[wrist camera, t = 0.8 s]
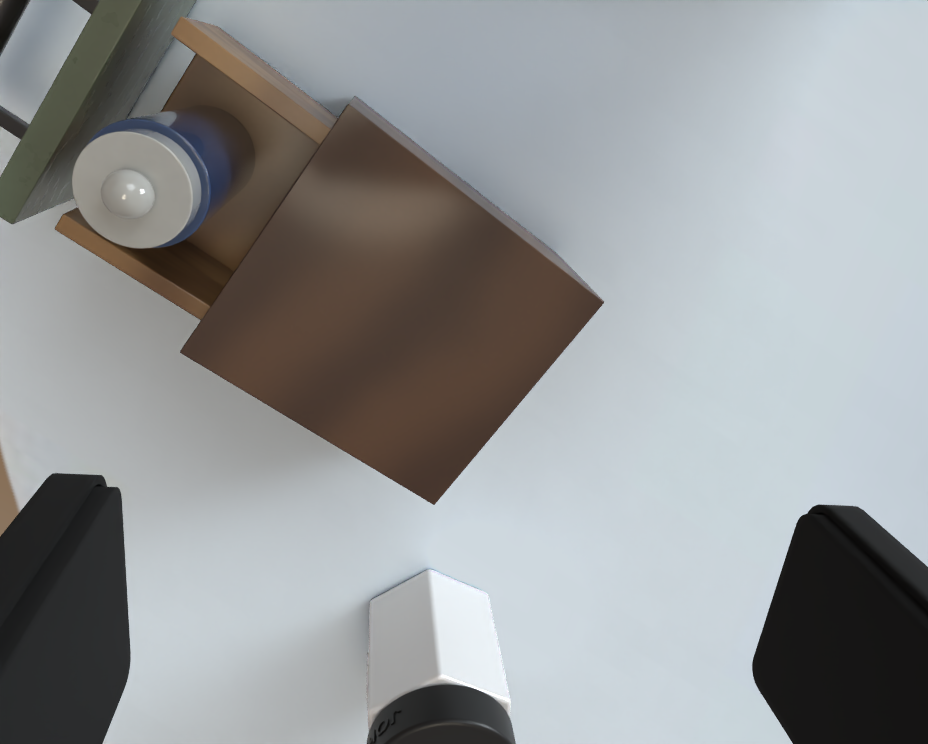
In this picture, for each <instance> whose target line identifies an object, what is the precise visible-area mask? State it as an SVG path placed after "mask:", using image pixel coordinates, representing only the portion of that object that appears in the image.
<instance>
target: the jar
mask: <svg viewBox="0 0 928 744" xmlns="http://www.w3.org/2000/svg"><path fill="white" fill-rule="evenodd" d="M367 654H368V659H367V678H366V683H367V710H368V727H369V734H368V738H367V744H516V743H515V738H514V733H513V728H512V723H511V720H510V709H511V700H510V695H509V690H508V686H507V681H506V676H505V671H504V667H503V662H502V657H501V652H500V647H499V643H498V638H497V633H496V628H495V624H494V619H493V614H492V609H491V605H490V600H489V595H488V594H487V593H486V592H484V591H481V590H479V589H476V588H474V587H472V586H469V585H467V584H464V583H462V582H460V581H457V580H455V579H452V578H450V577H448V576H445V575H443V574H441V573H438V572H436V571H433V570H431V569H428V570H426V571H424V572H422V573H420V574H419V575H417V576H415V577H413V578H411V579H409V580H407V581H406V582H404V583H402V584H400V585H398V586H396V587H394V588H393V589H391V590H389V591H387V592H385V593H383V594H381V595H379V596H378V597H376V598H374V599H372V600H371V601H370V604H369V652H368V653H367Z"/></svg>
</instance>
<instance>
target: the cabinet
mask: <svg viewBox="0 0 928 744" xmlns="http://www.w3.org/2000/svg"><path fill="white" fill-rule="evenodd" d="M603 303H604V301H603V300H602V299H601V298H600V297H599V296H598V295H597V294H596V293H595V292H594V291H593V290H592V289H591V288H590V287H589V286H588V285H587V284H586V283H585V282H584V281H583V280H582V279H581V278H580V277H579V276H578V275H577V273H576V272H575V271H574V270H573V269H572V268H571V267H570V266H569V265H568V264H567V263H566V262H565V261H564V260H563V259H562V258H561V257H560V256H559V255H558V254H557V253H555V252H554V251H553V250H552V249H550V248H549V247H548V246H547V245H545V244H544V243H543V242H541V241H540V240H539V239H538V238H536V237H535V236H534V235H532V234H531V233H530V232H529V231H527V230H526V229H525V228H524V227H522V226H521V225H520V224H518V223H517V222H516V221H515V220H513V219H512V218H511V217H509V216H508V215H507V214H506V213H504V212H503V211H502V210H501V209H499V208H498V207H497V206H495V205H494V204H493V203H492V202H490V201H489V200H488V199H486V198H485V197H484V196H483V195H481V194H480V193H479V192H478V191H476V190H475V189H474V188H472V187H471V186H470V185H469V184H467V183H466V182H465V181H463V180H462V179H461V178H460V177H458V176H457V175H456V174H455V173H453V172H452V171H451V170H449V169H448V168H447V167H446V166H444V165H443V164H442V163H441V162H439V161H438V160H437V159H435V158H434V157H433V156H432V155H430V154H429V153H428V152H426V151H425V150H424V149H423V148H421V147H420V146H419V145H418V144H416V143H415V142H414V141H412V140H411V139H410V138H409V137H407V136H406V135H405V134H403V133H402V132H401V131H400V130H398V129H397V128H396V127H395V126H393V125H392V124H391V123H389V122H388V121H387V120H386V119H384V118H383V117H382V116H380V115H379V114H378V113H377V112H375V111H374V110H373V109H372V108H370V107H369V106H368V105H366V104H365V103H364V102H363V101H361V100H360V99H359V98H357V97H356V96H354V98H353V99H352V100H351V101H350V102H349V104H348V105H347V106H346V108H345V109H344V111H343V112H342V114H341V115H340V117H339V118H338V120H337V121H336V123H335V124H334V125H333V127H332V128H331V130H330V131H329V133H328V134H327V136H326V137H325V139H324V140H323V142H322V143H321V145H320V146H319V148H318V149H317V150H316V152H315V153H314V155H313V156H312V158H311V159H310V161H309V162H308V164H307V165H306V167H305V168H304V170H303V171H302V173H301V174H300V176H299V177H298V178H297V180H296V181H295V183H294V184H293V186H292V187H291V189H290V190H289V192H288V193H287V195H286V196H285V198H284V199H283V201H282V202H281V204H280V205H279V206H278V208H277V209H276V211H275V212H274V214H273V215H272V217H271V218H270V220H269V221H268V223H267V224H266V226H265V227H264V229H263V230H262V232H261V233H260V234H259V236H258V237H257V239H256V240H255V242H254V243H253V245H252V246H251V248H250V249H249V251H248V252H247V254H246V255H245V257H244V258H243V260H242V261H241V262H240V264H239V265H238V267H237V268H236V270H235V271H234V273H233V274H232V276H231V277H230V279H229V280H228V282H227V283H226V285H225V286H224V287H223V289H222V290H221V292H220V293H219V295H218V296H217V298H216V299H215V301H214V302H213V304H212V305H211V307H210V308H209V310H208V311H207V313H206V314H205V315H204V317H203V318H202V320H201V321H200V323H199V324H198V326H197V327H196V329H195V330H194V332H193V333H192V335H191V336H190V338H189V339H188V341H187V342H186V343H185V345H184V346H183V348H182V349H181V351H180V353H182V354H183V355H185V356H187V357H188V358H190V359H192V360H193V361H195V362H197V363H198V364H200V365H202V366H203V367H205V368H207V369H208V370H210V371H212V372H213V373H215V374H217V375H218V376H220V377H222V378H223V379H225V380H227V381H228V382H230V383H232V384H233V385H235V386H237V387H238V388H240V389H242V390H243V391H245V392H247V393H248V394H250V395H252V396H253V397H255V398H257V399H258V400H260V401H262V402H263V403H265V404H267V405H268V406H270V407H272V408H273V409H275V410H277V411H278V412H280V413H282V414H283V415H285V416H287V417H288V418H290V419H292V420H293V421H295V422H297V423H298V424H300V425H302V426H303V427H305V428H307V429H308V430H310V431H312V432H313V433H315V434H317V435H318V436H320V437H322V438H323V439H325V440H327V441H328V442H330V443H332V444H333V445H335V446H337V447H338V448H340V449H342V450H343V451H345V452H347V453H348V454H350V455H352V456H353V457H355V458H357V459H358V460H360V461H362V462H363V463H365V464H367V465H368V466H370V467H372V468H373V469H375V470H377V471H378V472H380V473H382V474H383V475H385V476H387V477H388V478H390V479H392V480H393V481H395V482H397V483H398V484H400V485H402V486H403V487H405V488H407V489H408V490H410V491H412V492H413V493H415V494H417V495H418V496H420V497H422V498H423V499H425V500H427V501H428V502H430V503H432V504H433V505H435V503H436V502H437V501H438V500H439V499H440V497H441V496H442V495H443V494H444V493H445V491H446V490H447V489H448V488H449V487H450V486H451V484H452V483H453V482H454V481H455V480H456V478H457V477H458V476H459V475H460V474H461V472H462V471H463V470H464V469H465V468H466V466H467V465H468V464H469V463H470V462H471V460H472V459H473V458H474V457H475V456H476V455H477V453H478V452H479V451H480V450H481V449H482V447H483V446H484V445H485V444H486V443H487V441H488V440H489V439H490V438H491V437H492V435H493V434H494V433H495V432H496V431H497V430H498V428H499V427H500V426H501V425H502V424H503V422H504V421H505V420H506V419H507V418H508V416H509V415H510V414H511V413H512V412H513V410H514V409H515V408H516V407H517V406H518V405H519V403H520V402H521V401H522V400H523V399H524V397H525V396H526V395H527V394H528V393H529V391H530V390H531V389H532V388H533V387H534V385H535V384H536V383H537V382H538V381H539V380H540V378H541V377H542V376H543V375H544V374H545V372H546V371H547V370H548V369H549V368H550V366H551V365H552V364H553V363H554V362H555V360H556V359H557V358H558V357H559V356H560V354H561V353H562V352H563V351H564V350H565V349H566V347H567V346H568V345H569V344H570V343H571V341H572V340H573V339H574V338H575V337H576V335H577V334H578V333H579V332H580V331H581V329H582V328H583V327H584V326H585V325H586V324H587V322H588V321H589V320H590V319H591V318H592V316H593V315H594V314H595V313H596V312H597V310H598V309H599V308H600V307H601V306H602V304H603Z"/></svg>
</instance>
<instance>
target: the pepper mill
mask: <svg viewBox="0 0 928 744" xmlns="http://www.w3.org/2000/svg"><path fill="white" fill-rule="evenodd" d="M254 168H255V149H254V145H253V142H252V139H251V137H250V135H249V133H248V131H247V130H246V128H245V127H244V126H243V124H242V123H241V122H240V121H239V120H238V119H236V118H235V117H234V116H233V115H231V114H230V113H228V112H226V111H224V110H222V109H220V108H217V107H213V106H208V105H196V106H191V107H186V108H181V109H176V110H171V111H166V112H161V113H156V114H151V115H146V116H141V117H136V118H131V119H126V120H121V121H117V122H114V123H112V124H109V125H107V126H106V127H104V128H102V129H101V130H100V131H98V132H97V133H96V134H95V135H94V136H93V137H92V138H91V139H90V140H89V142H88V143H87V145H86V146H85V148H84V149H83V150H82V152H81V153H80V155H79V156H78V158H77V160H76V162H75V166H74V169H73V174H72V189H73V194H74V198H75V201H76V204H77V206H78V209H79V210H80V212H81V214H82V216H83V217H84V218H85V220H86V221H87V222H88V224H89V225H90V226H91V227H92V228H93V229H94V230H95V231H97V232H98V233H99V234H100V235H102V236H103V237H105V238H106V239H108V240H110V241H112V242H114V243H116V244H119V245H122V246H125V247H130V248H141V249H143V248H162V247H167V246H172V245H175V244H177V243H180V242H182V241H184V240H185V239H187V238H188V237H190V236H191V235H192V234H193V233H195V232H196V231H197V230H198V229H199V228H200V227H201V226H202V225H204V224H205V223H206V222H207V221H208V220H209V219H210V218H211V217H212V216H214V215H215V214H216V213H217V212H218V211H219V210H220V209H221V208H223V207H224V206H225V205H226V204H227V203H228V202H229V201H230V200H231V199H233V198H234V197H235V196H236V195H237V194H238V193H239V192H240V191H241V190H243V189H244V188H245V186H246V185H247V184H248V182H249V181H250V179H251V177H252V174H253V172H254Z"/></svg>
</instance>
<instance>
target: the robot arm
mask: <svg viewBox="0 0 928 744" xmlns="http://www.w3.org/2000/svg"><path fill="white" fill-rule="evenodd" d="M129 668H130V638H129V620H128V602H127V585H126V567H125V550H124V532H123V514H122V498H121V492H120V489H119V488H118V487H107V485H106V481H105V479H104V477H103V476H102V475H84V474H60V473H55V474H51V475H50V476H49V477H48V478H47V479H46V480H45V482H44V483H43V484H42V485H41V487H40V488H39V489H38V490H37V492H36V493H35V494H34V495H33V497H32V498H31V499H30V500H29V502H28V503H27V504H26V505H25V507H24V508H23V509H22V510H21V512H20V513H19V514H18V515H17V517H16V518H15V519H14V520H13V522H12V523H11V524H10V525H9V527H8V528H7V529H6V530H5V532H4V533H3V534H2V535H1V537H0V744H102V743H103V741H104V738H105V736H106V733H107V731H108V728H109V726H110V723H111V721H112V718H113V716H114V713H115V711H116V708H117V706H118V703H119V701H120V698H121V696H122V693H123V691H124V688H125V685H126V682H127V679H128V674H129ZM752 670H753V677H754V680H755V683H756V685H757V687H758V689H759V691H760V692H761V694H762V695H763V697H764V698H765V700H766V702H767V703H768V705H769V706H770V708H771V710H772V711H773V713H774V714H775V716H776V717H777V719H778V721H779V722H780V724H781V725H782V727H783V728H784V730H785V732H786V733H787V735H788V736H789V738H790V740H791V741H792V743H793V744H928V567H927V566H926V565H925V564H924V563H923V562H921V561H920V560H919V559H918V558H917V557H916V556H915V555H913V554H912V553H911V552H910V551H909V550H908V549H907V548H906V547H904V546H903V545H902V544H901V543H900V542H899V541H898V540H896V539H895V538H894V537H893V536H892V535H891V534H890V533H889V532H887V531H886V530H885V529H884V528H883V527H882V526H881V525H879V524H878V523H877V522H876V521H875V520H874V519H873V518H871V517H870V516H869V515H868V514H867V513H866V512H865V511H864V510H862V509H860V508H859V507H855V506H838V505H816V506H814V507H812V508H811V509H810V510H809V511H808V514H805V515H802V516H801V517H800V518H799V520H798V522H797V524H796V527H795V530H794V533H793V537H792V540H791V543H790V546H789V549H788V552H787V555H786V558H785V561H784V565H783V568H782V571H781V574H780V577H779V580H778V583H777V586H776V589H775V593H774V596H773V599H772V602H771V605H770V608H769V611H768V614H767V618H766V621H765V624H764V627H763V630H762V633H761V636H760V639H759V642H758V646H757V649H756V652H755V655H754V658H753V663H752Z"/></svg>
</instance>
